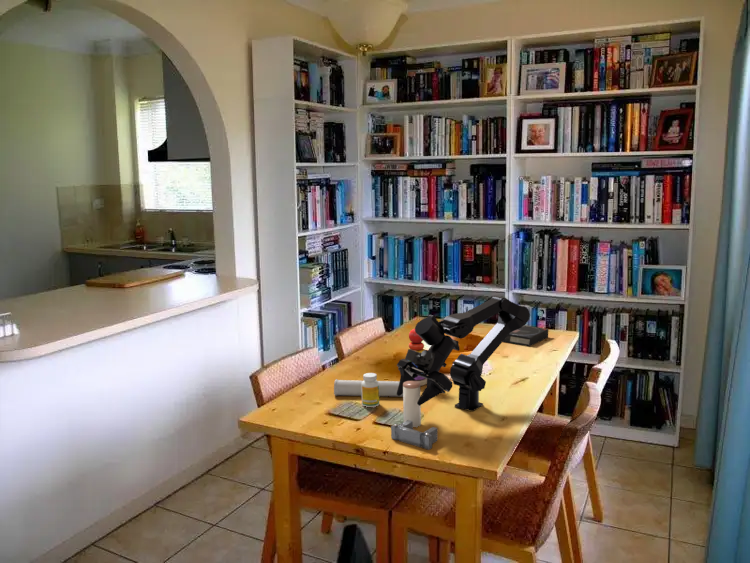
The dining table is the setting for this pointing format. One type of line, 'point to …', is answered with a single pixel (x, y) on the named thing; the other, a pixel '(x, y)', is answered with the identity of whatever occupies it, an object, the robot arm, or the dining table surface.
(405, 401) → the mushroom
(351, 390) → the tube
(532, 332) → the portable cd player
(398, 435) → the bracket
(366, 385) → the supplement bottle
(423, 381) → the stacking toy
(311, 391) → the dining table surface
